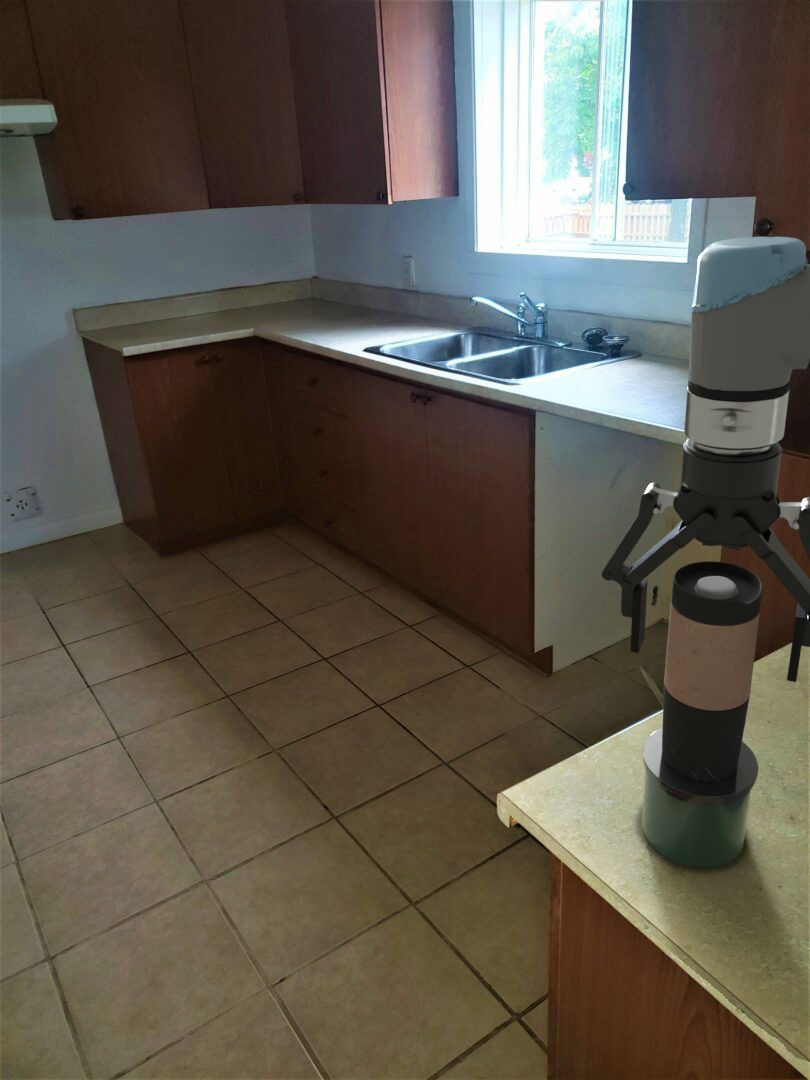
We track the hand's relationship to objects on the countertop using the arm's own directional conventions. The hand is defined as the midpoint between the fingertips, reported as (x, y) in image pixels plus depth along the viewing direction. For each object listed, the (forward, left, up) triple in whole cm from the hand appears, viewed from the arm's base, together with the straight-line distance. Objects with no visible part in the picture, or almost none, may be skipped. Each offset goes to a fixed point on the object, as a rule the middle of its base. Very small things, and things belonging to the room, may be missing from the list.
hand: (711, 658), depth 76 cm
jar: (0, 0, -21) cm, 21 cm away
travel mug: (0, 0, -12) cm, 12 cm away
